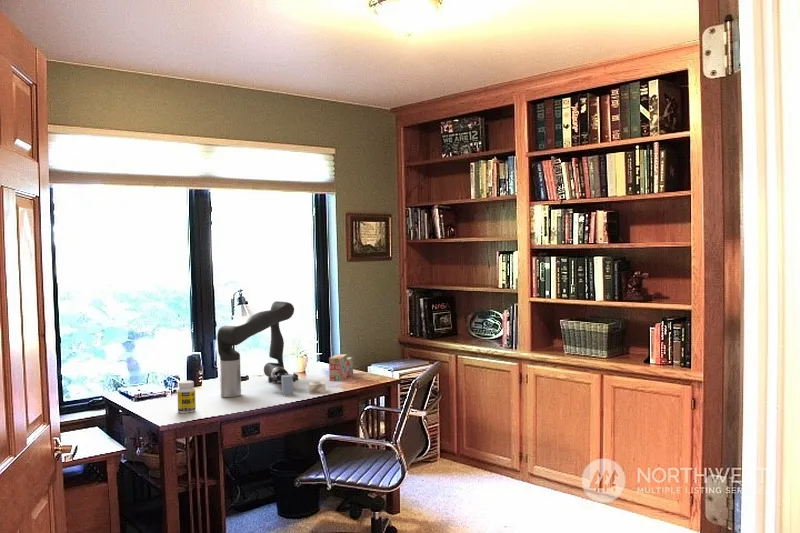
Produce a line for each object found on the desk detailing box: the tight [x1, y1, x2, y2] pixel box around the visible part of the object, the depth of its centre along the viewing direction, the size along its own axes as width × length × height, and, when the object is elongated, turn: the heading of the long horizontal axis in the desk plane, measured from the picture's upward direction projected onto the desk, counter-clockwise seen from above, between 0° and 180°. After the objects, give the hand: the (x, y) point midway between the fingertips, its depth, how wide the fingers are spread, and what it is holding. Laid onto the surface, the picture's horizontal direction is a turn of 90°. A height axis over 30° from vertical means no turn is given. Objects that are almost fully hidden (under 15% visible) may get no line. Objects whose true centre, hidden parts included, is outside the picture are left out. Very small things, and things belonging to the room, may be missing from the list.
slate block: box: [280, 374, 294, 397], centre depth 310 cm, size 4×4×9 cm
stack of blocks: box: [328, 353, 354, 382], centre depth 351 cm, size 21×6×12 cm, turn 166°
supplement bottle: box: [177, 380, 196, 414], centre depth 281 cm, size 7×7×13 cm
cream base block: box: [308, 380, 327, 395], centre depth 315 cm, size 8×8×4 cm
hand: (285, 380), depth 313 cm, fingers open, 8 cm apart
